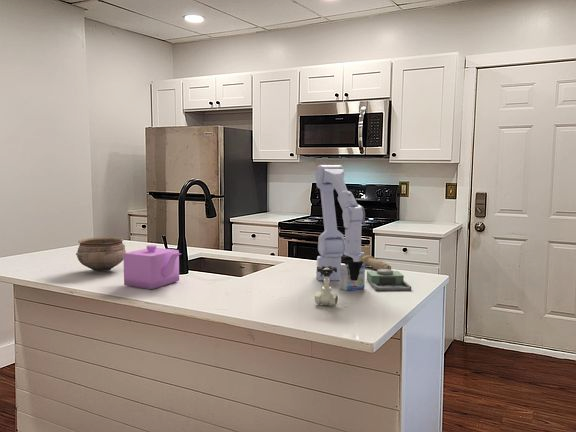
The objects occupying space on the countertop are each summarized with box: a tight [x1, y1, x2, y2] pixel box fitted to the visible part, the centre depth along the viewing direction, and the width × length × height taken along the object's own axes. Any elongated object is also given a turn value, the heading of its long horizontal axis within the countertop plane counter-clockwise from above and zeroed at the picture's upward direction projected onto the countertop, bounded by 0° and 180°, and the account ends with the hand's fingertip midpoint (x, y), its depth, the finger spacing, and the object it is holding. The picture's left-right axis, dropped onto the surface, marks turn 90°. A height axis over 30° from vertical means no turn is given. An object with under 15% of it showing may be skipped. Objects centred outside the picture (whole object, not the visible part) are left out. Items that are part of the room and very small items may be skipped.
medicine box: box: [339, 264, 366, 292], centre depth 182 cm, size 8×4×9 cm, turn 117°
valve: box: [314, 266, 339, 307], centre depth 160 cm, size 7×7×12 cm
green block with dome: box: [366, 269, 405, 285], centre depth 192 cm, size 12×8×4 cm
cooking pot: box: [75, 236, 127, 272], centre depth 211 cm, size 25×19×12 cm
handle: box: [360, 254, 392, 271], centre depth 215 cm, size 5×6×15 cm
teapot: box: [123, 244, 182, 290], centre depth 189 cm, size 15×25×14 cm, turn 63°
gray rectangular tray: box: [370, 280, 412, 292], centre depth 184 cm, size 13×9×2 cm
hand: (352, 278), depth 182 cm, fingers closed on medicine box, 6 cm apart
